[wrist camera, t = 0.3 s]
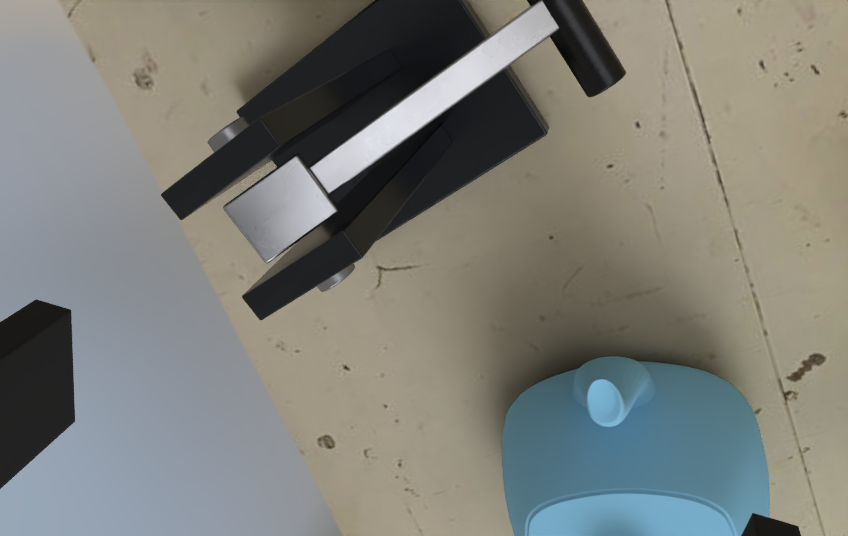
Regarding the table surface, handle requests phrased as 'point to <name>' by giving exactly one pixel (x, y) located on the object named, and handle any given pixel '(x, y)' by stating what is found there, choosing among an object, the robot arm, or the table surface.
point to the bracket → (349, 112)
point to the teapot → (633, 454)
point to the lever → (416, 122)
